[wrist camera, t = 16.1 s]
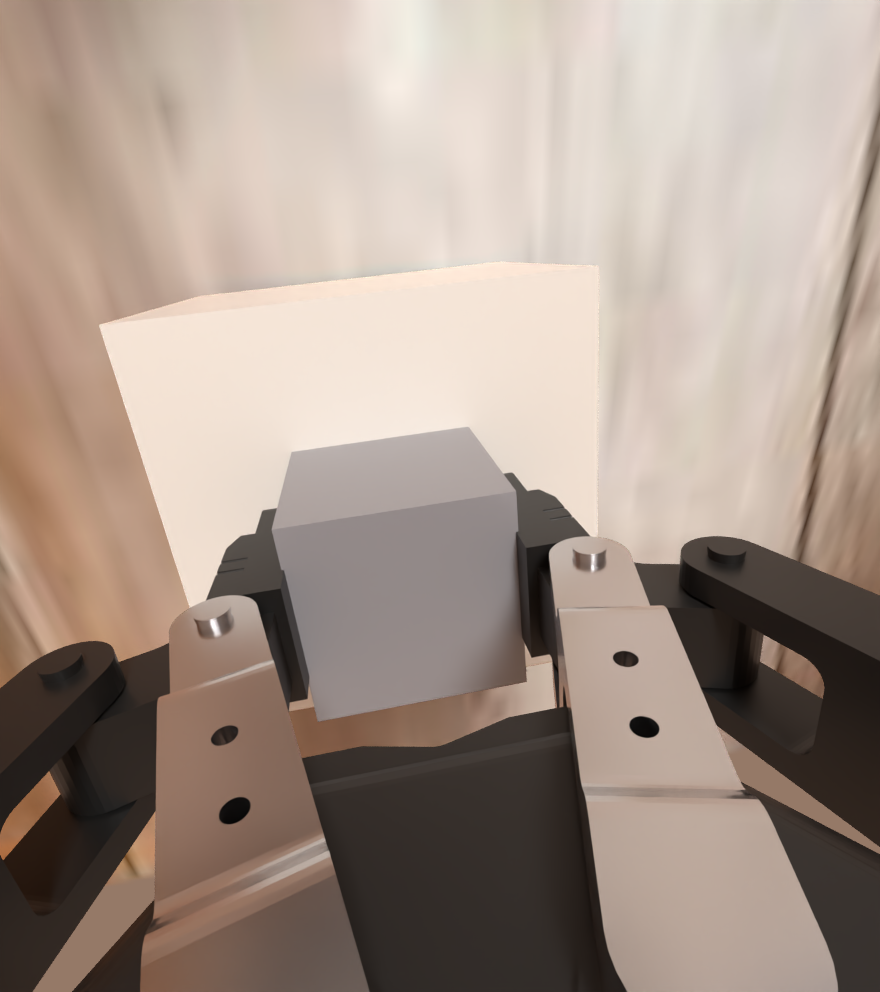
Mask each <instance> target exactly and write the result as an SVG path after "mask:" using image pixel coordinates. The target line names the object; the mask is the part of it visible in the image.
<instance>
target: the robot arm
mask: <svg viewBox="0 0 880 992" xmlns="http://www.w3.org/2000/svg"><path fill="white" fill-rule="evenodd" d="M504 475H505V477H506V478H507V479H508V481H509V482H510V483H511V485H512V486H513V488H514V489H515V490H516V496H517V515H518V532H516V540H517V557H518V575H519V593H520V611H521V628H522V639H523V641H524V643H525V645H526V647H527V649H528V651H529V653H530V655H531V658H533V657H539V656H544V655H549V654H550V656H551V658H552V668H553V687H554V697H555V708H554V709H549V710H544V711H539V712H534V713H529V714H524V715H519V716H514V717H509V718H506V719H504V720H502V721H499V722H497V723H495V724H492V725H490V726H488V727H485V728H483V729H481V730H478V731H476V732H474V733H471V734H469V735H467V736H464V737H462V738H460V739H457V740H455V741H453V742H450V743H448V744H445V745H442V746H438V747H366V746H362V747H357V748H352V749H347V750H342V751H336V752H331V753H326V754H321V755H316V756H311V757H306V758H302V757H301V754H300V750H299V747H298V743H297V740H296V736H295V733H294V729H293V726H292V722H291V719H290V715H289V706H290V702H295V701H300V700H306V699H308V688H309V673H308V668H307V664H306V660H305V656H304V652H303V647H302V643H301V639H300V635H299V631H298V627H297V622H296V618H295V614H294V610H293V606H292V601H291V597H290V593H289V589H288V585H287V580H286V576H285V572H284V570H281V567H280V563H279V558H278V554H277V550H276V546H275V542H274V538H273V533H272V526H273V522H274V518H275V514H276V510H277V508H274V509H268V510H263V511H262V513H261V516H260V520H259V523H258V526H257V529H256V533H255V534H248V535H242V536H240V537H239V538H238V539H236V540H235V541H234V542H233V543H232V544H231V545H230V546H229V547H227V548H226V550H225V553H224V555H223V558H222V560H221V564H220V566H219V568H218V571H217V575H216V576H215V578H214V581H213V583H212V586H211V588H210V591H209V593H208V596H207V599H206V601H203V602H201V603H199V604H196V605H194V606H193V607H191V608H189V609H187V610H186V611H184V612H183V613H182V614H180V615H179V616H178V617H177V618H176V619H175V620H174V622H173V623H172V624H171V627H170V629H169V643H168V644H166V645H164V646H162V647H159V648H157V649H154V650H152V651H149V652H146V653H143V654H141V655H138V656H135V657H132V658H129V659H126V660H124V661H121V662H118V659H117V657H116V654H115V652H114V649H113V648H112V646H111V645H109V644H107V643H104V642H99V641H88V642H81V643H76V644H72V645H69V646H65V647H63V648H60V649H57V650H55V651H53V652H50V653H48V654H46V655H44V656H43V657H41V658H39V659H37V660H36V661H34V662H33V663H31V664H30V665H28V666H27V667H26V668H24V669H23V670H22V671H21V672H19V673H18V674H17V675H16V676H15V677H13V678H12V679H11V680H10V681H9V682H7V683H6V684H5V685H4V686H3V687H1V688H0V832H1V829H2V827H3V824H4V823H5V821H6V819H7V817H8V816H9V814H10V813H11V812H12V810H13V809H14V808H15V807H16V806H17V805H18V804H19V803H20V802H21V800H22V799H23V798H24V797H25V796H26V795H27V794H28V793H29V792H30V791H31V790H32V789H33V788H34V786H35V785H36V784H37V783H38V782H39V781H40V780H41V779H42V778H43V777H44V776H45V775H46V774H47V772H48V771H49V772H50V774H51V776H52V778H53V780H54V782H55V784H56V786H57V788H58V790H59V792H60V794H61V795H60V796H59V797H58V798H57V799H56V800H55V802H54V803H53V804H52V805H51V806H50V807H49V808H48V810H47V811H46V812H45V813H44V814H43V815H42V816H41V818H40V819H39V820H38V821H37V822H36V823H35V825H34V826H33V827H32V828H31V829H30V830H29V831H28V833H27V834H26V835H25V836H24V837H23V838H22V840H21V841H20V842H19V843H18V844H17V845H16V846H15V848H14V849H13V850H12V851H11V852H10V853H9V854H8V856H7V857H6V858H5V859H4V860H2V858H1V856H0V992H33V990H34V989H35V987H36V986H37V984H38V983H39V981H40V980H41V978H42V977H43V975H44V974H45V973H46V971H47V970H48V968H49V967H50V965H51V964H52V962H53V961H54V959H55V958H56V956H57V955H58V953H59V952H60V950H61V949H62V947H63V946H64V945H65V943H66V942H67V940H68V939H69V937H70V936H71V934H72V933H73V931H74V930H75V928H76V927H77V925H78V924H79V923H80V921H81V919H82V918H83V917H84V915H85V914H86V912H87V911H88V909H89V908H90V906H91V905H92V903H93V902H94V900H95V899H96V897H97V896H98V895H99V893H100V892H101V890H102V889H103V887H104V886H105V884H106V883H107V881H108V880H109V878H110V877H111V875H112V874H113V873H114V871H115V870H116V868H117V867H118V865H119V864H120V862H121V861H122V859H123V858H124V856H125V855H126V853H127V852H128V850H129V849H130V848H131V846H132V845H133V843H134V842H135V840H136V839H137V837H138V836H139V834H140V833H141V831H142V830H143V828H144V827H145V826H146V824H147V823H148V821H149V820H150V818H151V817H152V815H153V814H154V812H155V811H156V820H155V897H154V901H153V902H152V903H151V904H150V905H149V906H148V907H147V908H146V910H145V911H144V912H143V913H142V914H141V915H140V916H139V917H138V918H137V920H136V921H135V922H134V923H133V924H132V925H131V926H130V927H129V929H128V930H127V931H126V932H125V933H124V934H123V935H122V936H121V937H120V939H119V940H118V941H117V942H116V943H115V944H114V946H112V948H111V949H110V950H109V951H108V952H107V953H106V954H105V955H104V957H103V958H102V959H101V960H100V961H99V962H98V963H97V964H96V965H95V967H94V968H93V969H92V970H91V971H90V972H89V973H88V974H87V976H86V977H85V978H84V979H83V980H82V981H81V983H80V984H79V985H78V986H77V987H76V988H75V989H74V990H73V991H72V992H880V854H878V853H876V852H874V851H872V850H871V849H868V848H866V847H865V846H863V845H861V844H859V843H857V842H855V841H853V840H851V839H849V838H847V837H845V836H844V835H842V834H839V833H838V832H836V831H834V830H832V829H830V828H828V827H826V826H824V825H822V824H821V823H819V822H817V821H815V820H813V819H811V818H809V817H807V816H805V815H803V814H801V813H799V812H798V811H796V810H794V809H792V808H790V807H788V806H786V805H784V804H782V803H780V802H778V801H776V800H775V799H773V798H771V797H769V796H767V795H765V794H763V793H761V792H759V791H757V790H755V789H754V788H752V787H750V786H748V785H746V784H744V783H742V782H740V780H739V778H738V776H737V773H736V771H735V768H734V766H733V764H732V761H731V759H730V757H729V754H728V752H727V749H726V747H725V745H724V742H723V740H722V738H721V735H720V733H719V730H718V728H717V726H718V727H719V728H721V729H722V730H723V731H725V732H726V733H728V734H729V735H730V736H732V737H733V738H734V739H736V740H737V741H738V742H740V743H741V744H742V745H744V746H745V747H746V748H748V749H749V750H750V751H752V752H753V753H755V754H756V755H757V756H758V757H760V758H761V759H762V760H764V761H765V762H766V763H768V764H769V765H771V766H772V767H773V768H775V769H776V770H777V771H779V772H780V773H781V774H783V775H784V776H785V777H787V778H788V779H789V780H791V781H792V782H794V783H795V784H796V785H797V786H799V787H800V788H802V789H803V790H804V791H805V792H807V793H808V794H809V795H811V796H812V797H813V798H815V799H816V800H818V801H819V802H820V803H822V804H823V805H824V806H826V807H827V808H828V809H830V810H831V811H832V812H834V813H835V814H836V815H838V816H839V817H841V818H842V819H843V820H844V821H846V822H847V823H849V824H850V825H851V826H852V827H854V828H855V829H856V830H858V831H860V833H862V834H863V835H864V836H866V837H867V838H869V839H870V840H871V841H873V842H874V843H875V844H877V845H878V846H879V847H880V596H879V595H877V594H875V593H872V592H870V591H867V590H865V589H863V588H860V587H858V586H855V585H853V584H851V583H848V582H846V581H843V580H841V579H838V578H836V577H834V576H831V575H829V574H826V573H824V572H822V571H819V570H817V569H814V568H812V567H810V566H807V565H805V564H802V563H800V562H797V561H795V560H793V559H790V558H788V557H785V556H783V555H781V554H778V553H776V552H773V551H771V550H769V549H766V548H764V547H761V546H759V545H756V544H754V543H751V542H749V541H745V540H742V539H737V538H731V537H721V536H712V537H702V538H698V539H694V540H692V541H690V542H688V543H686V544H685V545H684V546H683V547H682V549H681V557H680V564H641V563H634V562H633V559H632V556H631V554H630V552H629V550H628V549H627V548H626V547H625V546H623V545H622V544H620V543H618V542H616V541H613V540H610V539H607V538H601V537H592V536H590V535H589V534H588V533H587V532H586V531H585V529H584V528H583V527H582V526H581V525H580V524H579V523H578V522H577V520H576V519H575V518H574V517H572V515H571V514H570V513H569V511H568V510H567V509H565V508H564V506H563V505H562V503H561V502H560V501H559V500H558V499H557V498H556V497H555V496H553V495H551V494H548V493H546V492H544V491H542V490H539V489H537V490H530V491H527V490H526V489H525V487H524V486H523V485H522V484H521V482H520V481H519V480H518V478H517V477H516V476H515V475H514V473H512V472H511V473H504ZM763 635H765V636H767V637H769V638H771V639H773V640H775V641H776V642H778V643H780V644H782V645H784V646H785V647H787V648H789V649H791V650H793V651H795V652H796V653H798V654H800V655H802V656H803V657H805V658H807V659H808V660H809V661H810V662H811V663H812V664H813V665H814V666H815V667H816V668H817V669H818V671H819V673H820V674H821V676H822V678H823V681H824V687H825V689H824V696H823V699H822V698H820V697H818V696H817V695H815V694H813V693H811V692H810V691H808V690H806V689H805V688H803V687H801V686H800V685H798V684H796V683H795V682H793V681H791V680H790V679H788V678H786V677H785V676H783V675H781V674H780V673H778V672H776V671H775V670H773V669H771V668H769V667H768V666H766V665H764V664H763V663H761V662H760V656H761V649H762V642H763ZM716 725H717V726H716Z"/></svg>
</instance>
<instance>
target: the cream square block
mask: <svg viewBox="0 0 880 992" xmlns="http://www.w3.org/2000/svg"><path fill="white" fill-rule="evenodd" d="M99 327H100V330H101V333H102V336H103V339H104V342H105V346H106V349H107V352H108V355H109V358H110V361H111V364H112V367H113V370H114V373H115V377H116V380H117V383H118V386H119V389H120V392H121V395H122V398H123V401H124V405H125V408H126V411H127V414H128V417H129V420H130V423H131V426H132V429H133V433H134V436H135V439H136V442H137V445H138V448H139V451H140V454H141V457H142V461H143V464H144V467H145V470H146V473H147V476H148V479H149V482H150V485H151V489H152V492H153V495H154V498H155V501H156V504H157V507H158V510H159V513H160V516H161V520H162V523H163V526H164V529H165V532H166V535H167V538H168V541H169V544H170V548H171V551H172V554H173V557H174V560H175V563H176V566H177V569H178V572H179V576H180V579H181V582H182V585H183V588H184V591H185V594H186V597H187V600H188V604H189V607H190V608H191V607H193V606H194V605H196V604H199V603H201V602H203V601H206V599H207V596H208V593H209V591H210V588H211V586H212V583H213V581H214V578H215V576H216V575H217V571H218V568H219V566H220V564H221V560H222V558H223V555H224V553H225V550H226V548H227V547H229V546H230V545H231V544H232V543H233V542H234V541H235V540H236V539H238V538H239V537H240V536H242V535H248V534H255V533H256V529H257V526H258V523H259V520H260V516H261V513H262V511H263V510H268V509H274V508H277V510H276V514H275V518H274V522H273V526H272V533H273V538H274V542H275V546H276V550H277V554H278V558H279V563H280V567H281V570H284V572H285V576H286V580H287V585H288V589H289V593H290V597H291V601H292V606H293V610H294V614H295V618H296V622H297V627H298V631H299V635H300V639H301V643H302V647H303V652H304V656H305V660H306V664H307V668H308V673H309V688H308V699H306V700H300V701H295V702H290V706H289V712H290V711H295V710H300V709H305V708H311V707H314V708H315V712H316V716H317V720H318V722H319V721H325V720H330V719H335V718H340V717H346V716H351V715H356V714H361V713H366V712H372V711H377V710H382V709H387V708H393V707H398V706H403V705H408V704H413V703H419V702H424V701H429V700H434V699H440V698H445V697H450V696H455V695H460V694H466V693H471V692H476V691H481V690H487V689H492V688H497V687H502V686H508V685H513V684H518V683H523V682H527V679H526V667H528V666H533V665H539V664H544V663H549V662H552V658H551V656H550V654H549V655H544V656H539V657H533V658H531V655H530V653H529V651H528V649H527V647H526V645H525V643H524V641H523V639H522V628H521V611H520V593H519V575H518V557H517V540H516V532H518V515H517V496H516V490H515V489H514V488H513V486H512V485H511V483H510V482H509V481H508V479H507V478H506V477H505V475H504V473H511V472H512V473H514V475H515V476H516V477H517V478H518V480H519V481H520V482H521V484H522V485H523V486H524V487H525V489H526V490H527V491H530V490H537V489H539V490H542V491H544V492H546V493H548V494H551V495H553V496H555V497H556V498H557V499H558V500H559V501H560V502H561V503H562V505H563V506H564V508H565V509H567V510H568V511H569V513H570V514H571V515H572V517H574V518H575V519H576V520H577V522H578V523H579V524H580V525H581V526H582V527H583V528H584V529H585V531H586V532H587V533H588V534H589V535H590V536H592V537H598V377H599V266H589V265H566V264H542V263H518V262H491V263H482V264H474V265H465V266H456V267H448V268H439V269H430V270H422V271H413V272H404V273H395V274H387V275H378V276H369V277H361V278H352V279H343V280H335V281H326V282H317V283H309V284H300V285H291V286H283V287H274V288H265V289H257V290H248V291H239V292H231V293H222V294H213V295H205V296H198V297H195V298H191V299H188V300H184V301H181V302H177V303H174V304H170V305H167V306H163V307H160V308H156V309H153V310H149V311H146V312H142V313H139V314H135V315H132V316H128V317H125V318H121V319H118V320H114V321H111V322H107V323H104V324H101V325H99Z"/></svg>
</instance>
